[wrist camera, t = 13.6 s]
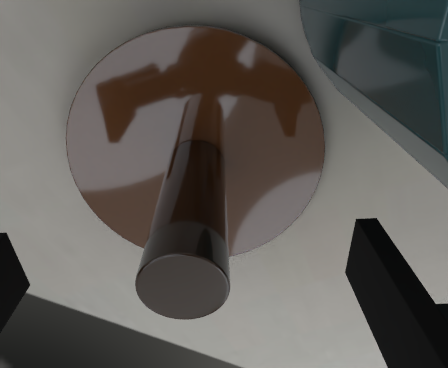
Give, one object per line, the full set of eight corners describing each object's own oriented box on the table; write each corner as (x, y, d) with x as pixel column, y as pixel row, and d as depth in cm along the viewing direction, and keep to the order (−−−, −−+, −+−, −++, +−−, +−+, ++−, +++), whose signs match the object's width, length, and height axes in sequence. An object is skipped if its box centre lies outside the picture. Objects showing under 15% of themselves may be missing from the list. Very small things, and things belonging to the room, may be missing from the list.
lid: (335, 17, 16) (468, 56, 8) (307, 244, 24) (359, 396, 15) (40, 29, 16) (-162, 80, 8) (103, 251, 24) (37, 407, 15)
